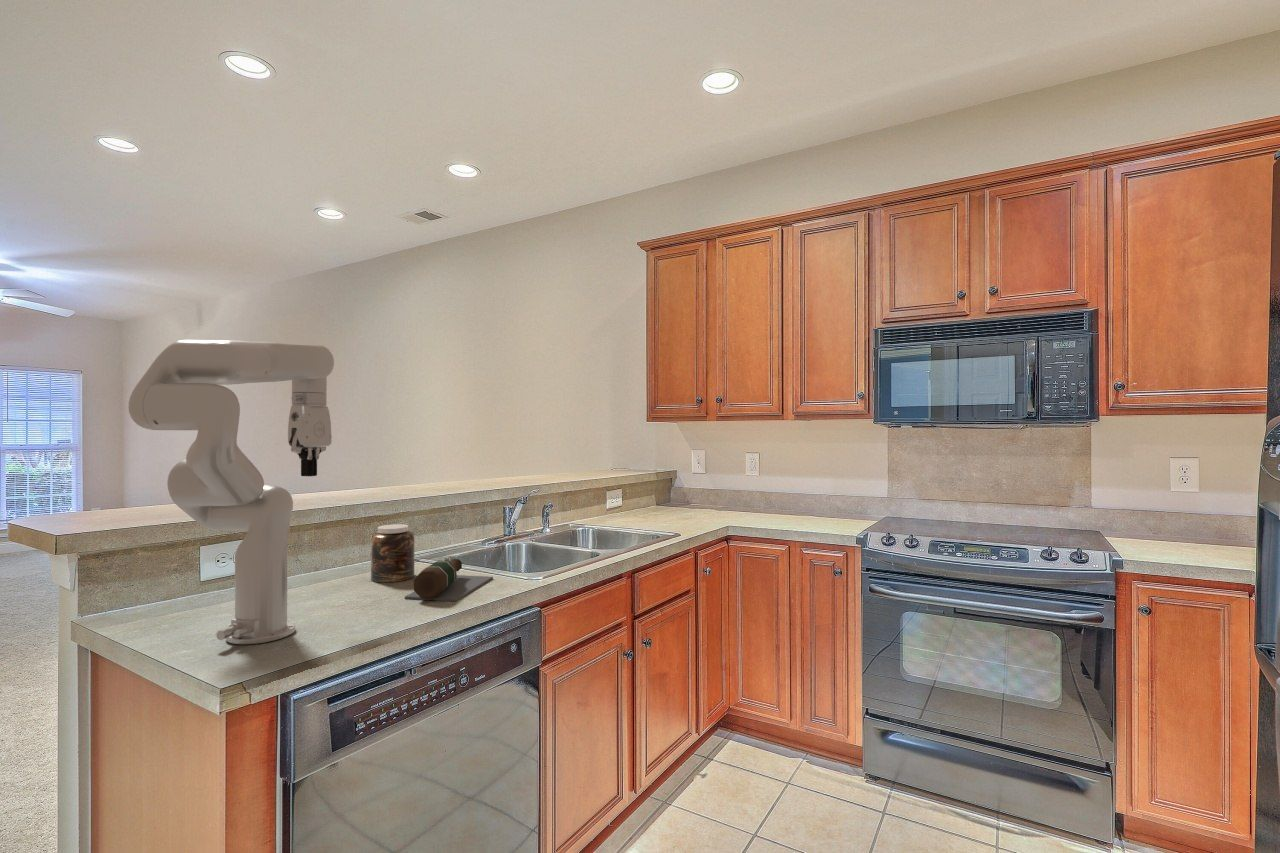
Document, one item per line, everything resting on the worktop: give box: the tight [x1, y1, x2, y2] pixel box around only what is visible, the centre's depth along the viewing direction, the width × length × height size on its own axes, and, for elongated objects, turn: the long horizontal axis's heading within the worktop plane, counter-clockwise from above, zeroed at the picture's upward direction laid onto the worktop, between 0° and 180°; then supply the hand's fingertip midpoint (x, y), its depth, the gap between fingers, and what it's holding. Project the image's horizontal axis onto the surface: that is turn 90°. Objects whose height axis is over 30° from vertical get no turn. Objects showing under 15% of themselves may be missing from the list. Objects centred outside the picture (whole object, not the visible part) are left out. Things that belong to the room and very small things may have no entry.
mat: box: [404, 574, 494, 602], centre depth 172 cm, size 24×14×1 cm, turn 171°
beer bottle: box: [413, 558, 463, 599], centre depth 171 cm, size 8×8×24 cm
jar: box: [370, 523, 415, 584], centre depth 183 cm, size 12×12×15 cm
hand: (309, 475), depth 154 cm, fingers closed
